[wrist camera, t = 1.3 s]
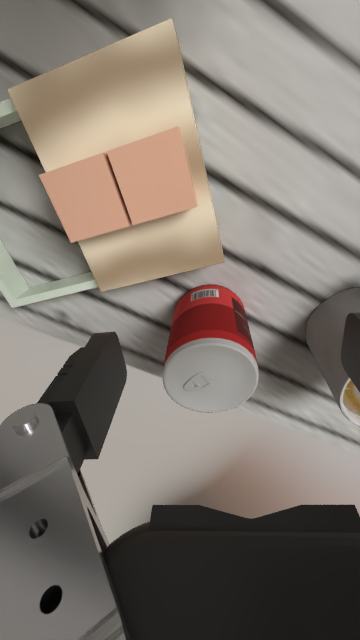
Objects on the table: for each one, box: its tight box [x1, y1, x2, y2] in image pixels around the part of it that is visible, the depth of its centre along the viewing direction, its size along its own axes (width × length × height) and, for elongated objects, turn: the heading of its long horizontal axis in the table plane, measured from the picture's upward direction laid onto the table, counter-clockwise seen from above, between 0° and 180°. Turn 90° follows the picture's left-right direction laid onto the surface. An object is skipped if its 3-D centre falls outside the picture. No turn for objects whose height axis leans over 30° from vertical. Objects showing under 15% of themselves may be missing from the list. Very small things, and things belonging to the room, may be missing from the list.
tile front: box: [107, 126, 198, 225], centre depth 21 cm, size 5×5×2 cm
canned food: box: [163, 284, 259, 413], centre depth 28 cm, size 8×8×11 cm
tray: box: [0, 98, 99, 308], centre depth 27 cm, size 16×11×3 cm
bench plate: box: [7, 18, 224, 292], centre depth 24 cm, size 16×12×4 cm
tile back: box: [39, 152, 132, 243], centre depth 22 cm, size 5×5×2 cm
